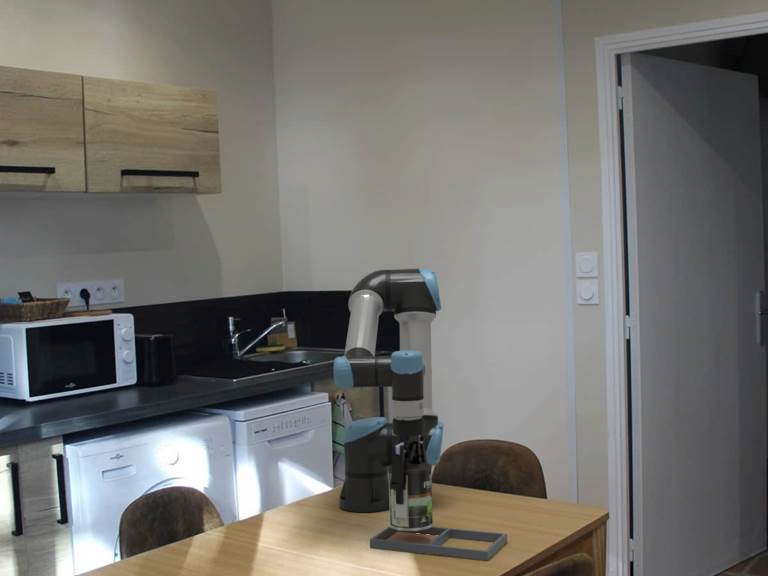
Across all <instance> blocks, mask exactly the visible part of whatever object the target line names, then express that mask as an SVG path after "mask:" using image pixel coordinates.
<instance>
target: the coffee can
mask: <svg viewBox="0 0 768 576" xmlns="http://www.w3.org/2000/svg"><path fill="white" fill-rule="evenodd" d="M432 468H433V466H432V465H430V464H428V463H423V462H422V463H421V464H411V462H410V464H409V470H406V471H405V470H404V471H403V472H406V477H407V481H406V487H405V489H407V506H408V518H396V511H395V490H393V489H391V488H390V484H391V473H392V464H391V465H389V466H388V477H389V508H390V509H389V527H391V528H392V529H395V530H399V531H421V530H426V529H429V528H431V527H432V526H433V527H434V522H433V520H434V519H433V491H432V489H433V488H432V483H433V482H432V480H433V479H432Z"/></svg>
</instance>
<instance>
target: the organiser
mask: <svg viewBox="0 0 768 576" xmlns="http://www.w3.org/2000/svg"><path fill="white" fill-rule="evenodd" d="M416 533H420V534H416ZM426 534H430V535H426ZM436 535H438V536H436ZM450 537H452V538H450ZM449 539H461V540H470V539H471V541H479V540H483V541H482V542H489V541H491V542H492V544H491V545H489V546H488V547H487V548H486V549H485V550H484V549H475V548H466V547H457V546H456V547H454V546H449V545H448V546H447V545H446V546H445V545H443V544H444V543H446V540H447V541H448V540H449ZM442 543H443V544H442ZM507 543H508V533H504V532H503V533H502V532H493V531H482V530H472V529H471V530H470V529H463V528H453V527H443V526H442V527H440V526H434V525H433V526H432V527H431V528H429V529H426V530H421V531H399V530H395V529H392V528H391V527H390V526H388V527H387V528H385V529H384V530H382V531H381V532H379V533H377V534H376V535H375V536H373V537H371V538H370V539H369V548H370V549H377V550H385V551H386V550H387V551H395V552H404V553H412V552H416V553H415V554H421V553H429V554H428V555H430V554H436V555H435V556H439V555H444V556H443V557H448V556H452V557H451V558H457V557H460V558H459V559H466V558H470V559H469V560H475V559H479V560H478V561H484V560H487V561H486V562H488V561H489V560H491V558H492V557H493V556H495V554H497V553H498V552H499V551H500V550H501V549H502V548H504V546H505V545H506V544H507ZM441 544H442V545H441ZM417 552H418V553H417ZM420 552H421V553H420Z"/></svg>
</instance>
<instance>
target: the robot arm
mask: <svg viewBox="0 0 768 576" xmlns="http://www.w3.org/2000/svg"><path fill="white" fill-rule="evenodd" d="M347 305H348V306H347V307H348V309H349V310H348V311H349V312H350V316H349V323H348V330H347V336H346V341H345V342H346V343H345V349H344V350H345V351H344V355H343V356H337V357H335V358H334V360H333V380H334V385H335V386H336V387H339V388H350V389H354V388H355V389H356V388H388V387H390V388H391V415H392V417H393V419H392V422H388V420H387V418H386V417H385V416H381V417H380V416H374V417H372V416H371V417H366V418H360V419H355V420H353V421H351V422H349V423H347V424H346V425H345V426H344V431H343V432H344V433H343V445H344V447H343V448H344V450H343V451H344V481H343V484H342V487H341V490H340V494H339V497H338V503H339V504H338V506H339V508H340V509H342V510H344V511H346V512H347V511H348V512H354V513H375V512H382V511H388V510H390V508H389V474H388V466H389V465H391V464H392V473H391V484H390V488H391V489H393V490H395V511H396V518H408V506H407V489H405V487H406V481H407V477H406V472H403V471H404V470H405V471H406V470H409V464H410V462H411V464H421V463H422V462H423V463H428V464H430V465H432V467H434V466H436V465H438V464H439V463H440V460H441V453H442V446H443V445H442V444H443V435H444V423H443V422H442V421H439V415H438V413H436V412H435V411H434V409H433V376H432V375H433V374H432V373H433V371H432V364H433V363H432V322H433V321H434V320H435V319H436V318H437V312H439V311H440V310H442V304H441V297H440V290H439V285H438V278H437V274H436V271H434V270H433V269H431V268H402V269H401V268H400V269H398V268H397V269H379V270H376V271H373V272H370V273H369V274H367V275H366V276H364V277H362V279H360V281H358V282H357V284H356V285H355V286H354V287H353V288H352V290H351V293H350V295H349V298H348V304H347ZM383 312H393V317H394V319H395V320H396V321H397V322H398V323H399V350H397V351H396V350H395V351H394V352H392V354H391V355H376V346H377V337H378V336H377V335H378V326H379V316H380V315H381V314H382V313H383Z"/></svg>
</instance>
